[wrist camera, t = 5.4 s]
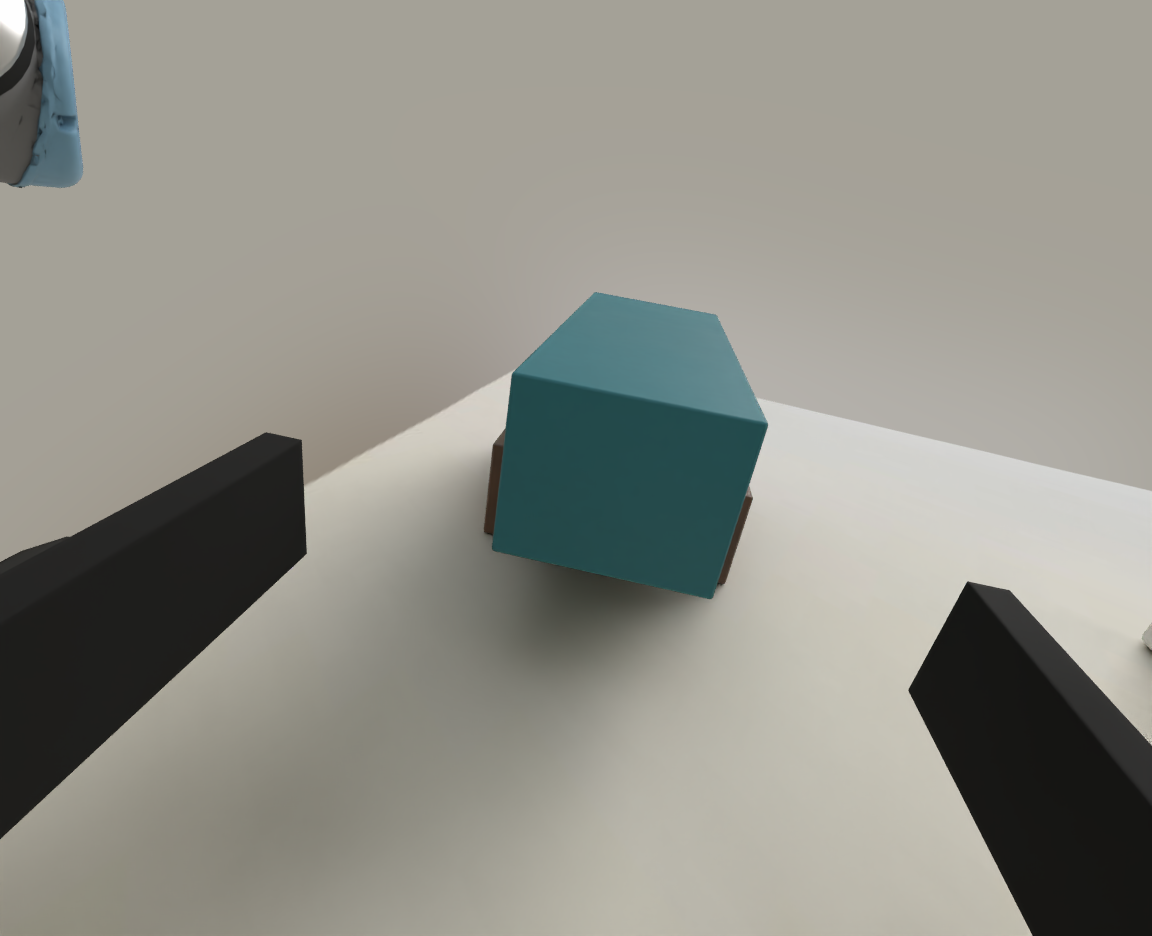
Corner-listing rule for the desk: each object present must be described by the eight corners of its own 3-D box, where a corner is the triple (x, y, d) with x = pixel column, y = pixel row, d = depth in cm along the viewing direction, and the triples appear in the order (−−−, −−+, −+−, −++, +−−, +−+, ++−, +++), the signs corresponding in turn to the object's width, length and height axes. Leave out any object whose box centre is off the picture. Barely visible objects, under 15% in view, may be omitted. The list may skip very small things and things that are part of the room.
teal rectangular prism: (490, 551, 15) (511, 371, 13) (577, 389, 30) (594, 291, 28) (712, 601, 15) (769, 423, 13) (691, 412, 29) (717, 314, 27)
